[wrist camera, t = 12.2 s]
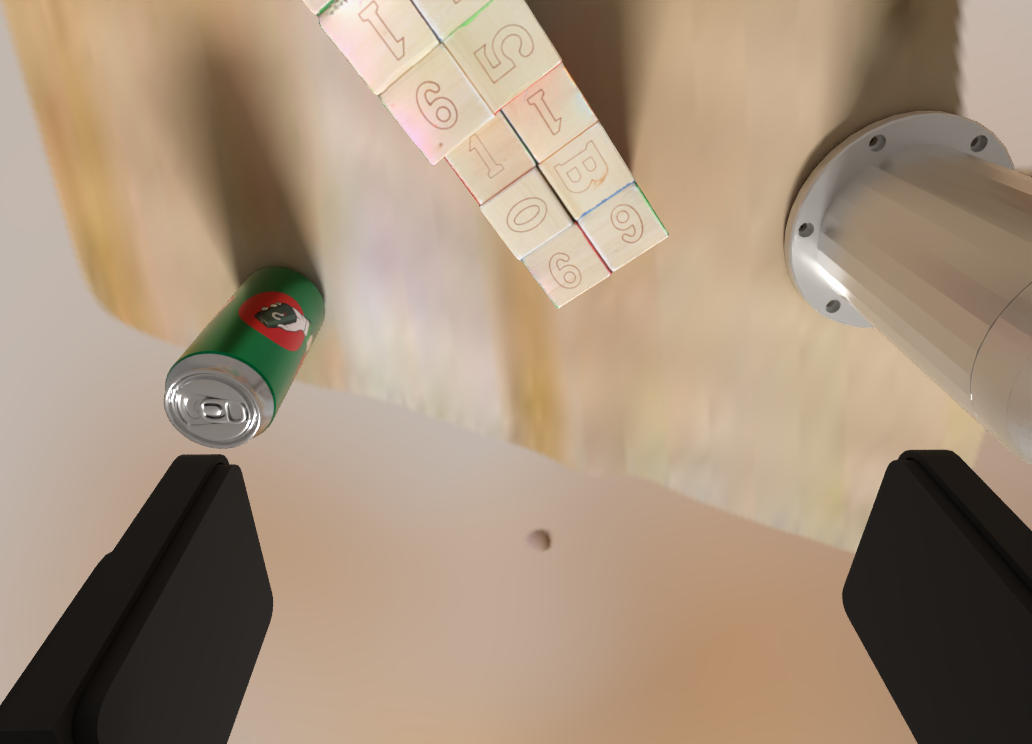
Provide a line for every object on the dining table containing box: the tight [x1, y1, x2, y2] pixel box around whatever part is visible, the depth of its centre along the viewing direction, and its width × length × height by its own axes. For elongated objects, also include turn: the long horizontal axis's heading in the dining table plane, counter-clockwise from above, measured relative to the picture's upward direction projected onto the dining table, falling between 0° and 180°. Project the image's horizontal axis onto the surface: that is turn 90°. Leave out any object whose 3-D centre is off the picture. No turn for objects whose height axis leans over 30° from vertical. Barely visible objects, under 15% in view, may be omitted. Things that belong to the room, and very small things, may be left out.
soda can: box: [164, 267, 325, 449], centre depth 36 cm, size 5×5×12 cm
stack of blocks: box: [303, 0, 669, 308], centre depth 29 cm, size 21×6×12 cm, turn 35°
